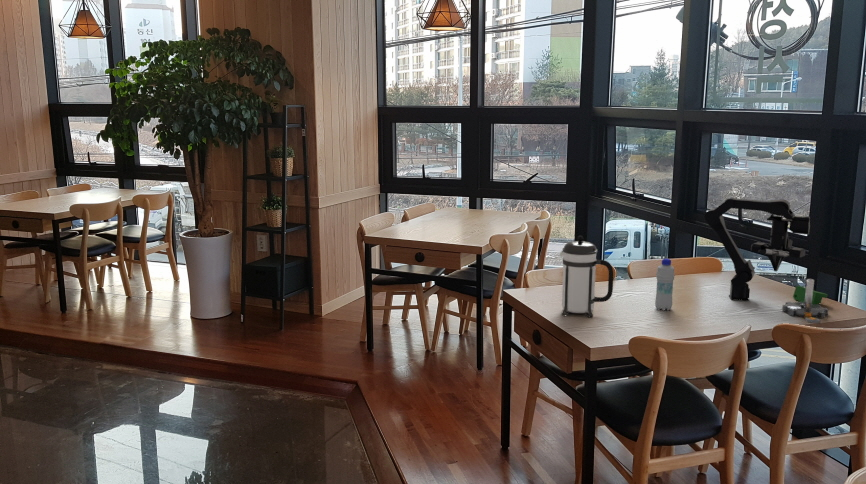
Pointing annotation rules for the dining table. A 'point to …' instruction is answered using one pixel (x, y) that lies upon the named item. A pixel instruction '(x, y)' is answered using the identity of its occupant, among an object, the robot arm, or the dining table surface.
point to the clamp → (800, 295)
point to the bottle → (664, 285)
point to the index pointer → (812, 320)
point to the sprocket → (806, 305)
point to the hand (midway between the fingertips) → (775, 271)
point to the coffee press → (581, 277)
